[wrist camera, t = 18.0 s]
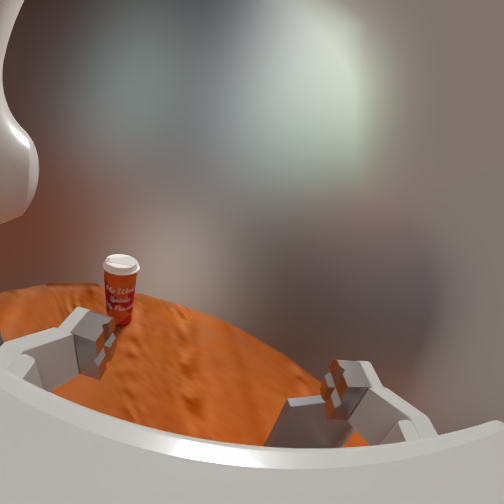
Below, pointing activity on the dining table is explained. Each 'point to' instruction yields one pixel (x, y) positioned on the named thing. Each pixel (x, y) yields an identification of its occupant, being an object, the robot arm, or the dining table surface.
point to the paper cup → (120, 286)
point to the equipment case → (308, 426)
